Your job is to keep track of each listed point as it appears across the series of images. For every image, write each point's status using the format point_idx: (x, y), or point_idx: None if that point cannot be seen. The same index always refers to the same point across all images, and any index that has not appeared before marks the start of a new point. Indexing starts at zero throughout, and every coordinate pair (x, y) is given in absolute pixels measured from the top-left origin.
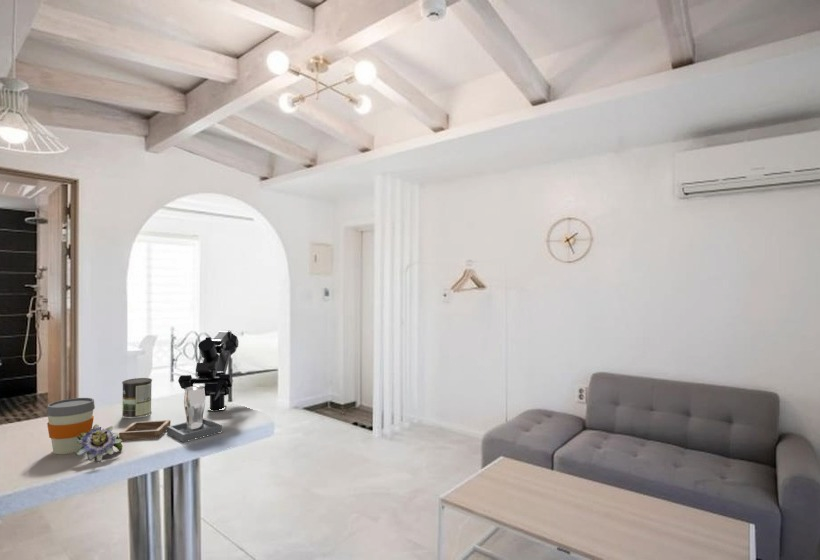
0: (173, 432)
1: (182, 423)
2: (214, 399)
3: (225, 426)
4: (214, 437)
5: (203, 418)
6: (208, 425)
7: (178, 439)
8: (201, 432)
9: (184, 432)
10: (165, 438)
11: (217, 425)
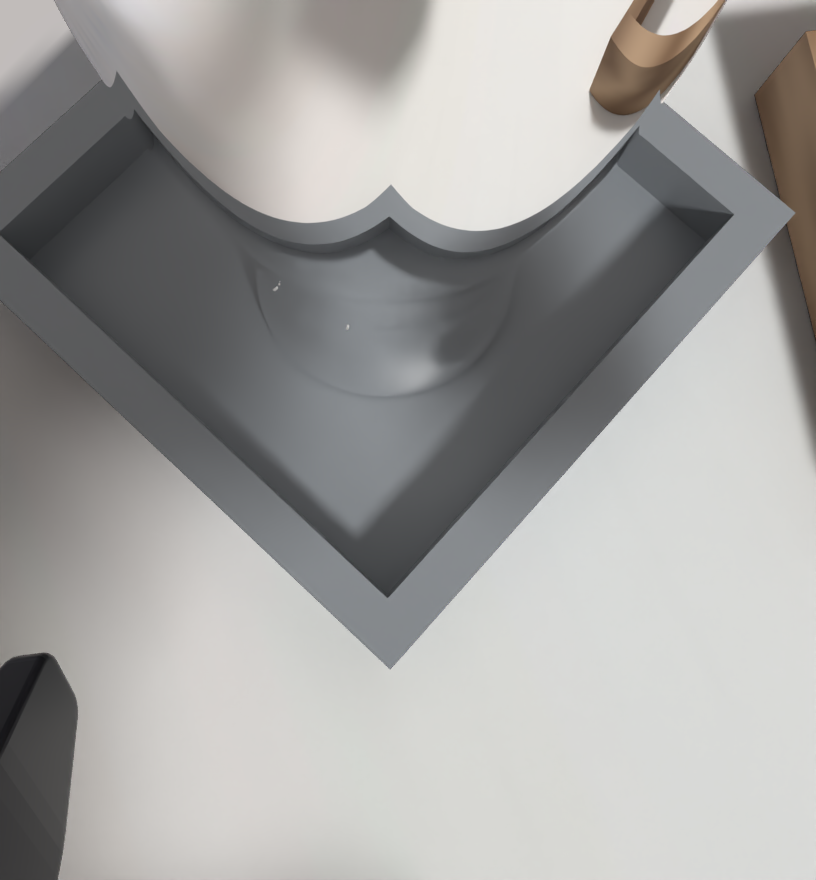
0: None
1: (635, 358)
2: (25, 661)
3: (25, 559)
4: (30, 86)
5: (405, 645)
6: (253, 468)
7: None
8: None
9: None
10: None
11: (11, 246)
